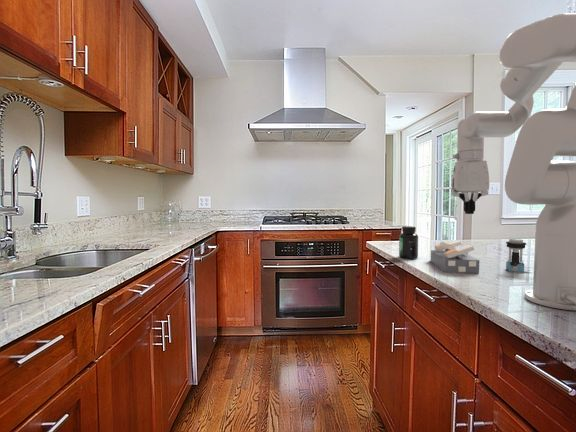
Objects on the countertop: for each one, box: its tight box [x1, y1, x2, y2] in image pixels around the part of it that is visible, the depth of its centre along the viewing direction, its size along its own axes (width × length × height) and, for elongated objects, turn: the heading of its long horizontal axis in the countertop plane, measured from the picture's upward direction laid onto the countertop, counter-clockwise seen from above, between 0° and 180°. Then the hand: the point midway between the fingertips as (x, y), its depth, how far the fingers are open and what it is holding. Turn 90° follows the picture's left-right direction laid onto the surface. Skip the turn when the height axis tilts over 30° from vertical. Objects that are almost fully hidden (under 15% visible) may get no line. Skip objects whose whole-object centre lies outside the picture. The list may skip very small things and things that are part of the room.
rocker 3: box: [444, 244, 475, 258], centre depth 107 cm, size 4×8×1 cm, turn 80°
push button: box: [505, 238, 531, 273], centre depth 106 cm, size 7×5×10 cm
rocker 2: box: [439, 241, 469, 255], centre depth 113 cm, size 4×8×1 cm, turn 80°
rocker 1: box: [434, 239, 462, 251], centre depth 119 cm, size 4×8×1 cm, turn 80°
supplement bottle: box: [398, 225, 419, 260], centre depth 129 cm, size 7×7×12 cm
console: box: [430, 249, 480, 274], centre depth 113 cm, size 18×10×5 cm, turn 170°
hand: (469, 213), depth 110 cm, fingers closed
